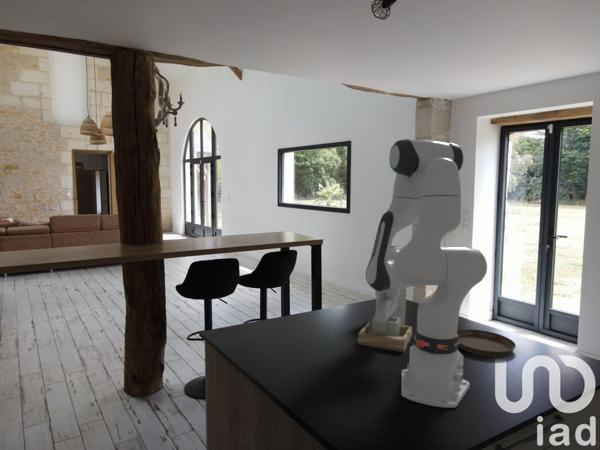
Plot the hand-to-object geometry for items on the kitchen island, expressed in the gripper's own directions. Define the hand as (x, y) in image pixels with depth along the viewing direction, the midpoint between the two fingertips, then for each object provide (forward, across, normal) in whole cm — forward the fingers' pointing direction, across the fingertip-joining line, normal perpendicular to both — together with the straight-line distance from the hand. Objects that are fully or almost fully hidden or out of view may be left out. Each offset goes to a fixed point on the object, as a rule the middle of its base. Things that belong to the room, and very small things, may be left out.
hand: (386, 327), depth 152 cm
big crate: (+5, 0, 0) cm, 5 cm away
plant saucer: (+5, +9, -32) cm, 34 cm away
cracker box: (+5, +20, +3) cm, 21 cm away
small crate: (+2, 0, 0) cm, 2 cm away
